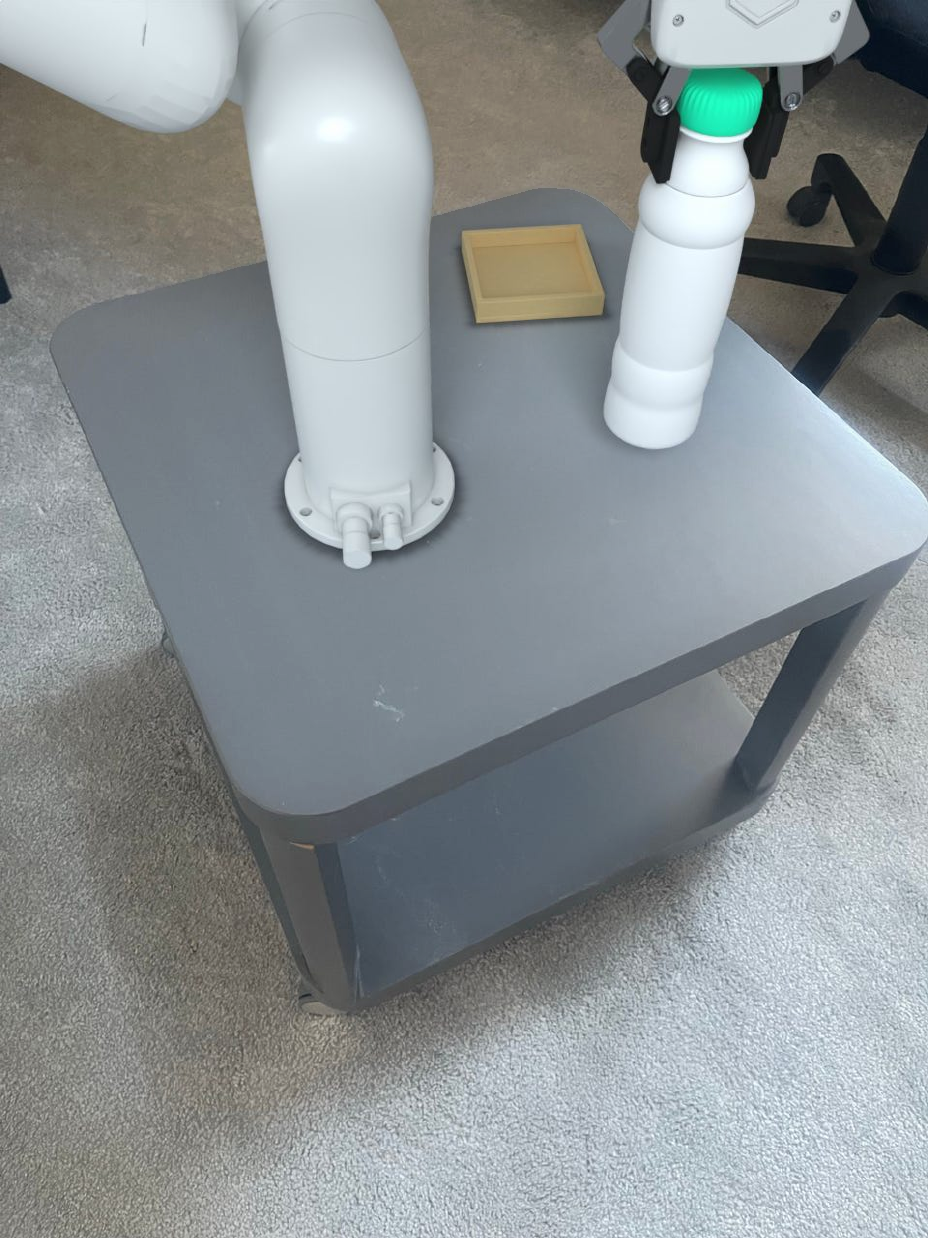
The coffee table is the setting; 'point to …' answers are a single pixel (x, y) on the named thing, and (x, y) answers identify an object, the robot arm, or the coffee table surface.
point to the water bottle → (684, 264)
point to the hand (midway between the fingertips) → (705, 166)
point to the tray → (531, 273)
